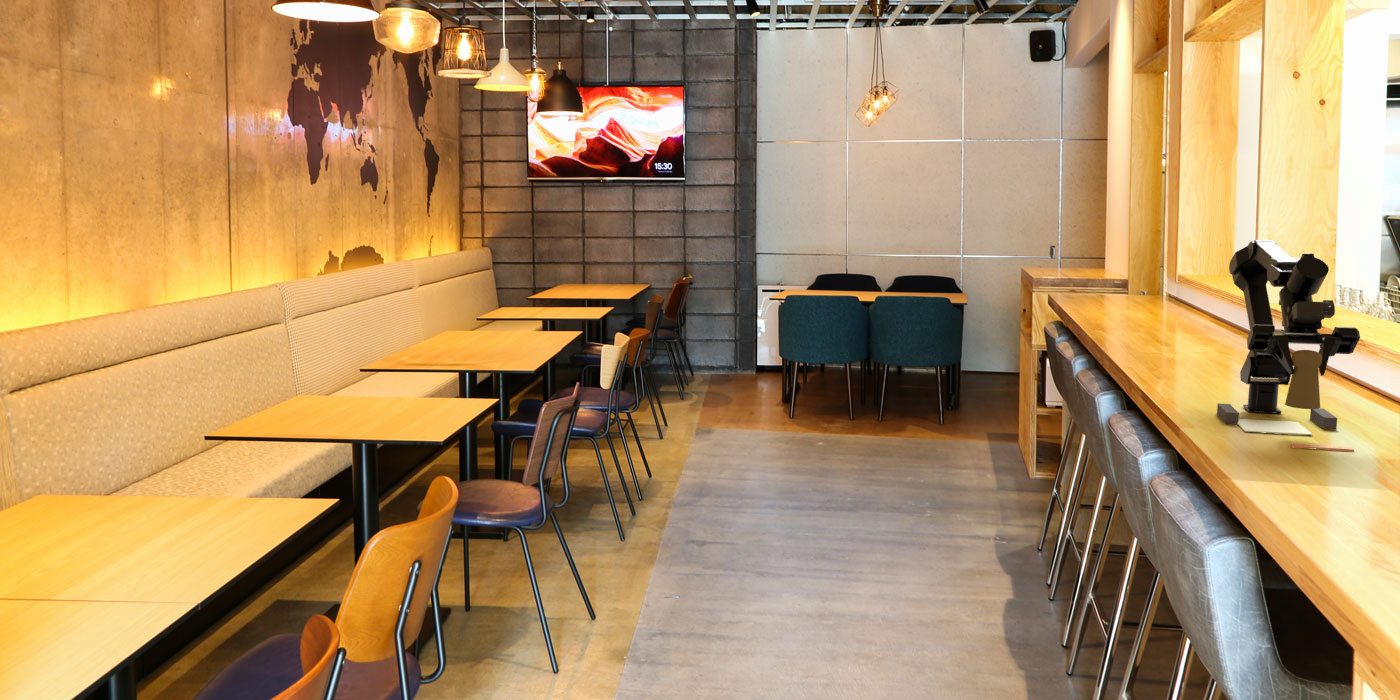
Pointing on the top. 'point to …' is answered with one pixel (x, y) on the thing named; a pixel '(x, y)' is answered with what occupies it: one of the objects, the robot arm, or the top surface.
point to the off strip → (1323, 447)
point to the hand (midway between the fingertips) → (1307, 374)
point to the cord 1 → (1227, 413)
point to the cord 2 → (1323, 418)
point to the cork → (1304, 380)
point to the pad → (1273, 427)
